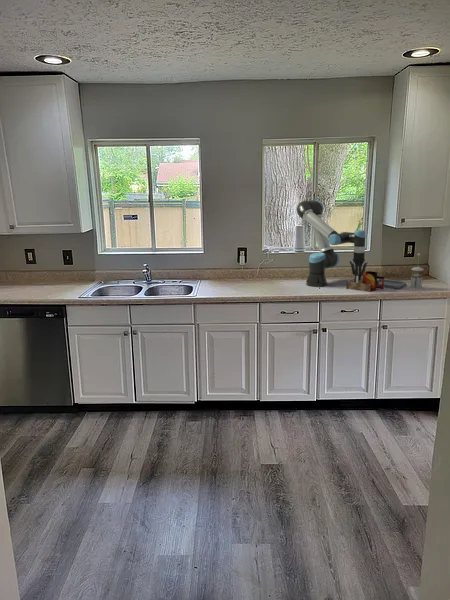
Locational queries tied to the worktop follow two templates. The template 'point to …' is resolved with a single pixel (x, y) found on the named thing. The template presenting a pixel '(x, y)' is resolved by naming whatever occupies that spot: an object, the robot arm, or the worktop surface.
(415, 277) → the french press
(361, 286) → the wooden frame
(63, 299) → the worktop surface
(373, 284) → the mug
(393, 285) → the tray
